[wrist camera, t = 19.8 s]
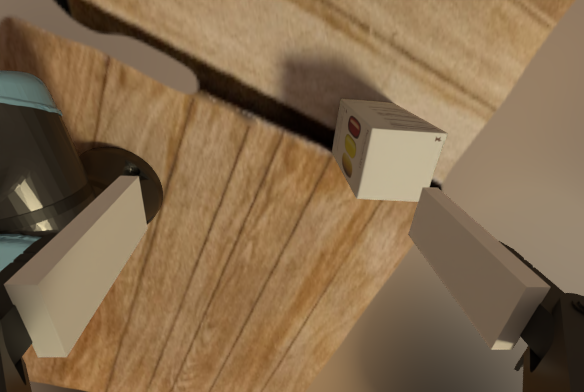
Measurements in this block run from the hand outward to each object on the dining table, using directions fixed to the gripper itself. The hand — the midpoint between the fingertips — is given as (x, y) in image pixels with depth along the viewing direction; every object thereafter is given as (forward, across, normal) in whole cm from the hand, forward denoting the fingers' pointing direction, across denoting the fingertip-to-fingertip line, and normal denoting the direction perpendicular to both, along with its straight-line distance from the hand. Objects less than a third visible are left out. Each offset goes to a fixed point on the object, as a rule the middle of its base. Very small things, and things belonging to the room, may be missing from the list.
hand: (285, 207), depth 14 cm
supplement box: (+37, +15, -5) cm, 40 cm away
